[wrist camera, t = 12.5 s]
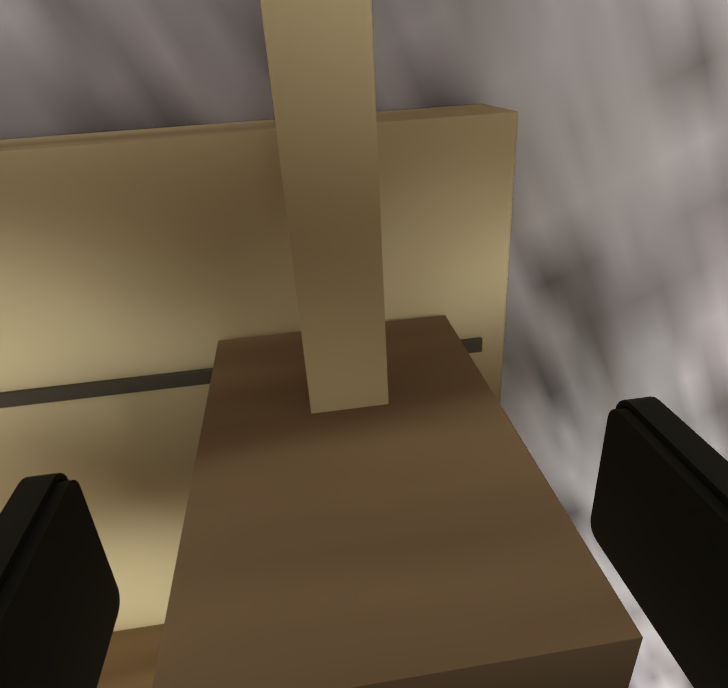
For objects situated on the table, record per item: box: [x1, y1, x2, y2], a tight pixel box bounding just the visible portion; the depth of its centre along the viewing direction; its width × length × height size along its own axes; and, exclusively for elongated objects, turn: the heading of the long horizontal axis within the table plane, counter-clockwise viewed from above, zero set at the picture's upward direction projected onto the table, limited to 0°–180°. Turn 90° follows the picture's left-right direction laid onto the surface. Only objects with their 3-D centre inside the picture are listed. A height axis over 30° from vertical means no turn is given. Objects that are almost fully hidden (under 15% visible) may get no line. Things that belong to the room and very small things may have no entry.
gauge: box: [152, 0, 643, 688], centre depth 7 cm, size 12×4×7 cm, turn 4°
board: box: [0, 104, 518, 688], centre depth 12 cm, size 13×18×4 cm
